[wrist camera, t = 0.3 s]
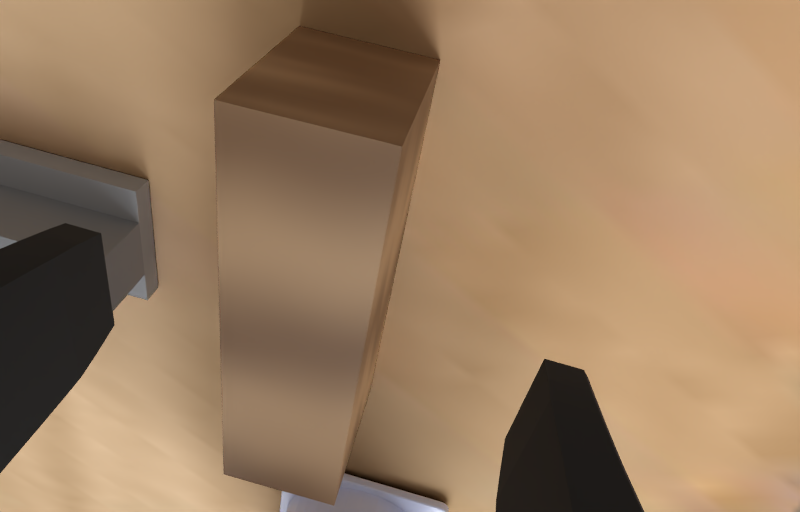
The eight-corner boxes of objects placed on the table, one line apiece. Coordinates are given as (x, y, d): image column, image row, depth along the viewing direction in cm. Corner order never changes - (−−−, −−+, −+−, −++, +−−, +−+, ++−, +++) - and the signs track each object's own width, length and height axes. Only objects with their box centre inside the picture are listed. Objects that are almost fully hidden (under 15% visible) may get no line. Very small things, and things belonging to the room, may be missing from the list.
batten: (371, 385, 25) (334, 505, 21) (279, 360, 25) (223, 474, 21) (441, 57, 17) (401, 146, 12) (301, 24, 17) (214, 99, 12)
